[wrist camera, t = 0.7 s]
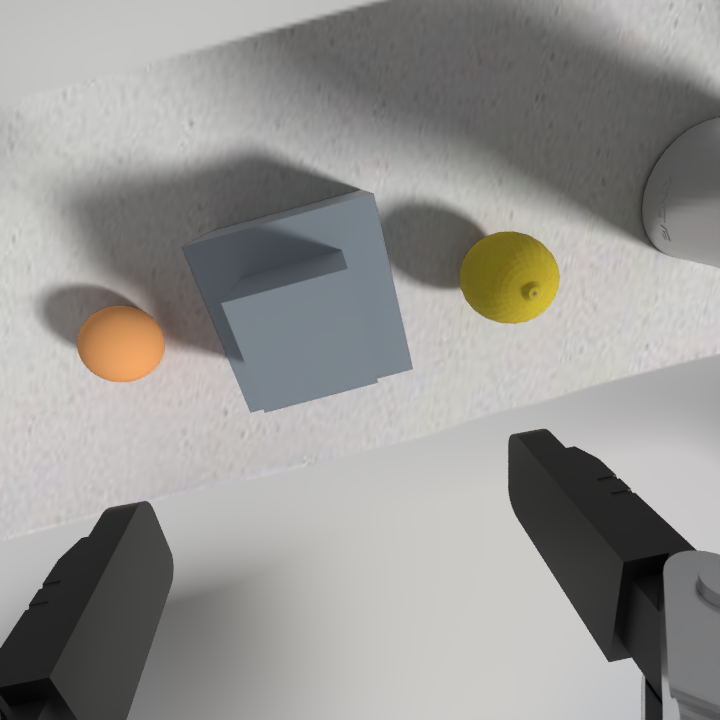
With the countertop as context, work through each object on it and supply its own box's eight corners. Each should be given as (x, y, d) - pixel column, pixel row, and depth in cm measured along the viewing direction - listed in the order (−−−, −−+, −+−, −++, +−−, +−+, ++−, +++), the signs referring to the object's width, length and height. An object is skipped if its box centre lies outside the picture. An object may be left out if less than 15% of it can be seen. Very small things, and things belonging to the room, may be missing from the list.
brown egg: (155, 288, 29) (126, 309, 25) (185, 353, 31) (163, 384, 27) (86, 307, 30) (43, 332, 25) (120, 371, 32) (86, 404, 27)
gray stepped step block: (361, 189, 28) (388, 198, 17) (394, 331, 32) (433, 410, 21) (211, 230, 28) (145, 265, 17) (263, 367, 32) (236, 462, 22)
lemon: (447, 227, 30) (490, 244, 22) (525, 223, 30) (593, 239, 23) (444, 305, 32) (482, 344, 24) (517, 300, 32) (576, 337, 25)
